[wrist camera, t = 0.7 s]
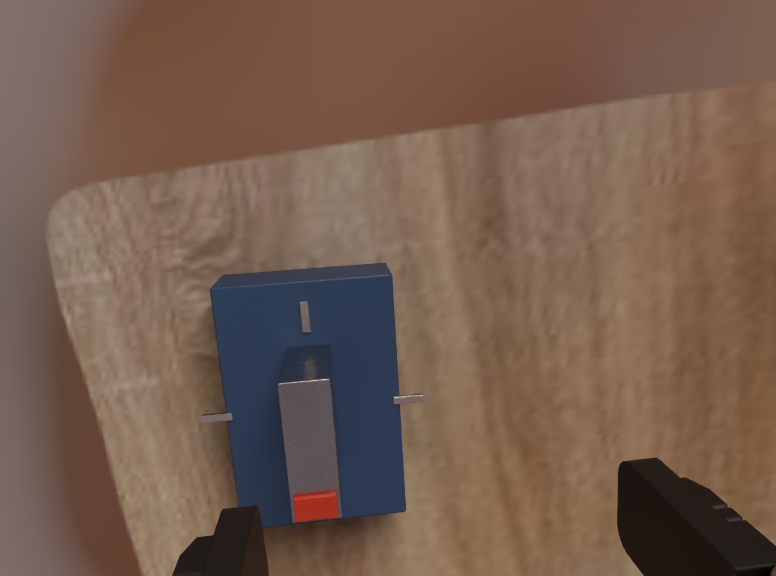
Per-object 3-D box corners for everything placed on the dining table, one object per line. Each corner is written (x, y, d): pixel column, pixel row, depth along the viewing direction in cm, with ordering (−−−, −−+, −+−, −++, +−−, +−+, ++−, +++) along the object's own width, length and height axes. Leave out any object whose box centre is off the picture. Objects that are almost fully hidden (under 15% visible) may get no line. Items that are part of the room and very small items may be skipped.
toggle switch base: (199, 276, 27) (182, 291, 24) (407, 260, 28) (417, 272, 25) (229, 497, 30) (217, 535, 27) (419, 477, 31) (428, 511, 28)
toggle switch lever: (285, 348, 25) (276, 386, 21) (330, 344, 26) (330, 381, 21) (298, 468, 27) (292, 527, 22) (340, 464, 27) (342, 521, 23)
